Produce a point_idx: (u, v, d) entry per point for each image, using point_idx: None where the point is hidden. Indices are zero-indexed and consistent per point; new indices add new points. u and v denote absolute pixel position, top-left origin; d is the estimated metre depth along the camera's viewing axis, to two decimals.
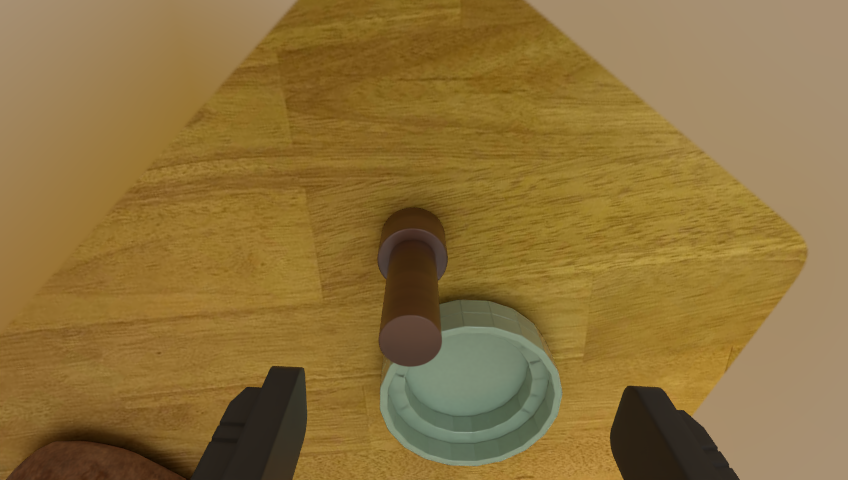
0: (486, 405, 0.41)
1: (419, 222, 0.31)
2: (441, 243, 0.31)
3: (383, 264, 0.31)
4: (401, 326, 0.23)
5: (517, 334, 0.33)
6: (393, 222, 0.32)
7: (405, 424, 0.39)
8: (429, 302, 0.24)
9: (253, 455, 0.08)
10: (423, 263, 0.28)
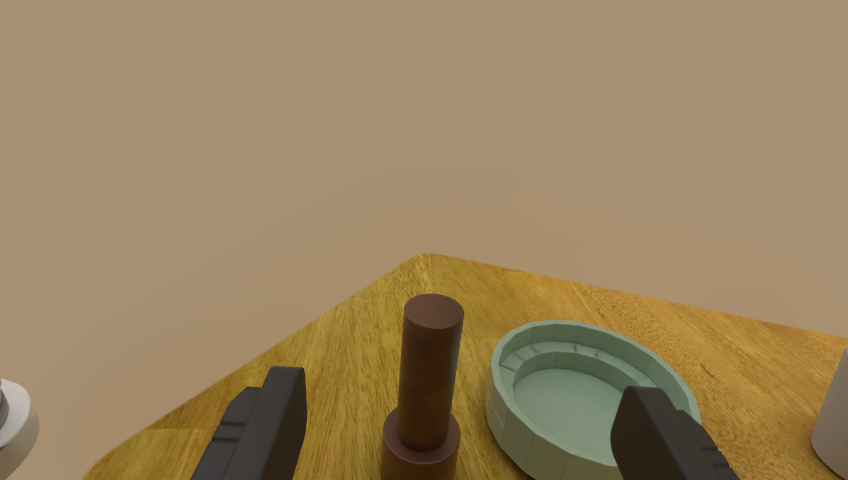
0: (619, 398, 0.36)
1: None
2: None
3: (427, 458, 0.27)
4: (417, 313, 0.24)
5: (495, 347, 0.35)
6: (387, 471, 0.28)
7: None
8: None
9: (253, 455, 0.08)
10: None
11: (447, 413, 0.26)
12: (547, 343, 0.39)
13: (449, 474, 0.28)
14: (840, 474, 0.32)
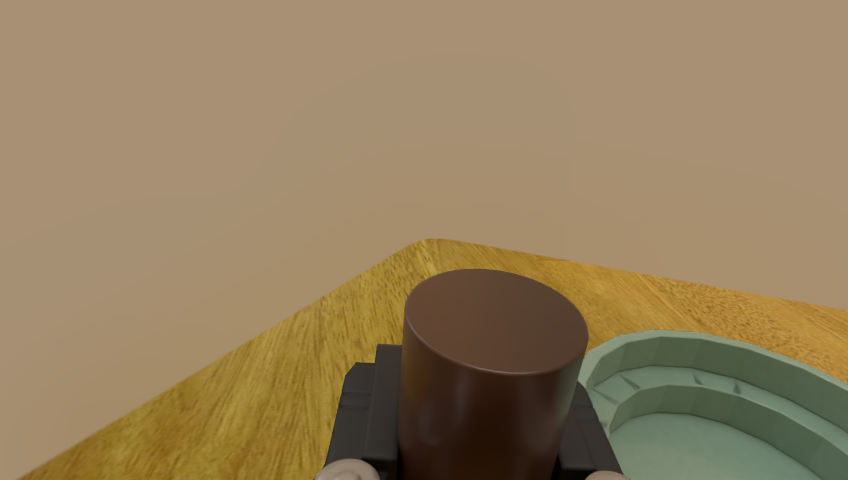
0: (793, 471, 0.20)
1: None
2: None
3: None
4: (445, 324, 0.08)
5: None
6: None
7: None
8: None
9: (386, 418, 0.09)
10: None
11: None
12: (647, 370, 0.23)
13: None
14: None
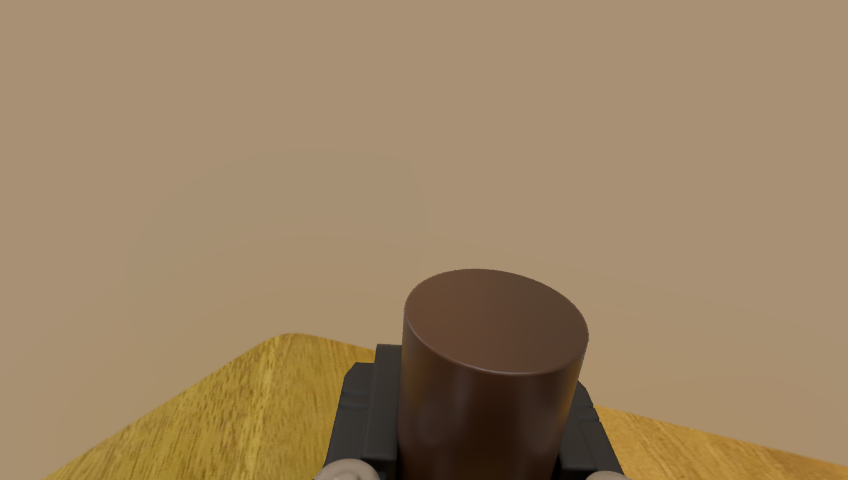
0: None
1: None
2: None
3: None
4: (445, 324, 0.08)
5: None
6: None
7: None
8: None
9: (385, 418, 0.09)
10: None
11: None
12: None
13: None
14: None
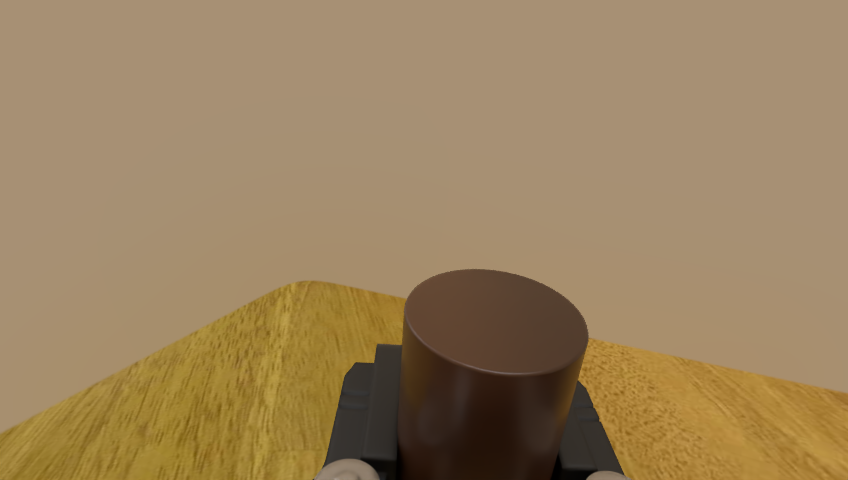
0: None
1: None
2: None
3: None
4: (444, 325, 0.08)
5: None
6: None
7: None
8: None
9: (385, 418, 0.09)
10: None
11: None
12: None
13: None
14: None
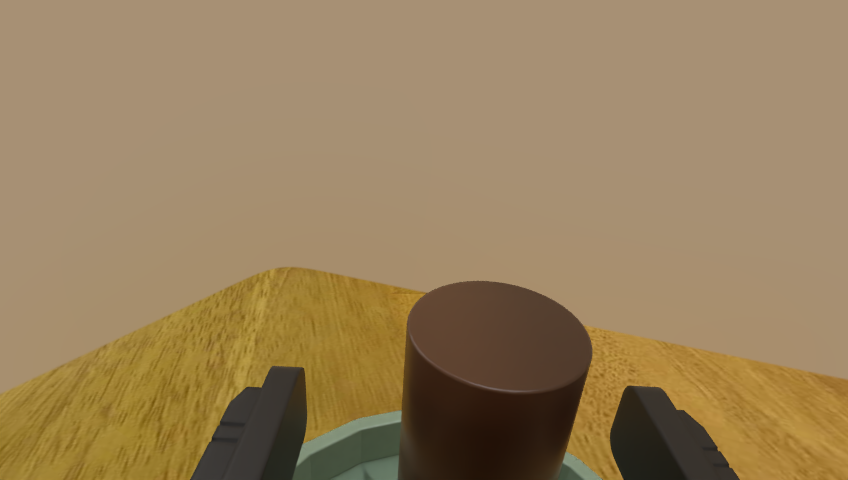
0: None
1: None
2: None
3: None
4: (448, 340, 0.08)
5: None
6: None
7: None
8: None
9: (253, 455, 0.08)
10: None
11: None
12: None
13: None
14: None
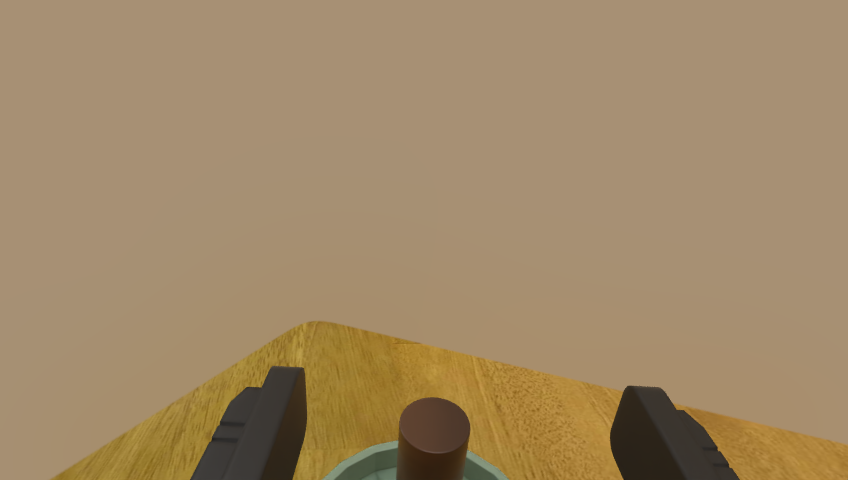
0: None
1: None
2: None
3: None
4: (414, 430, 0.20)
5: None
6: None
7: None
8: None
9: (253, 455, 0.08)
10: None
11: None
12: None
13: None
14: None
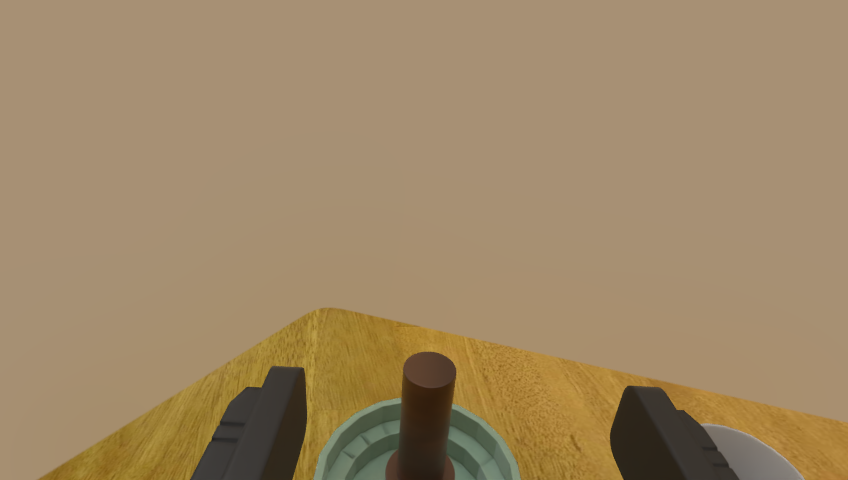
0: None
1: None
2: None
3: None
4: (414, 373, 0.27)
5: (332, 435, 0.34)
6: None
7: None
8: None
9: (253, 455, 0.08)
10: None
11: (443, 457, 0.30)
12: None
13: None
14: None
